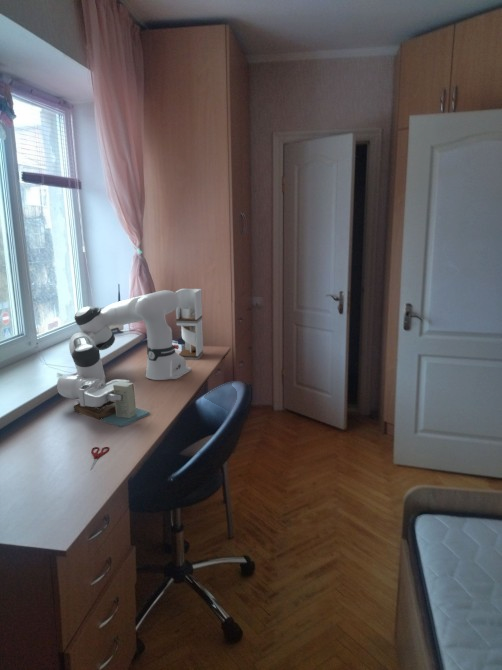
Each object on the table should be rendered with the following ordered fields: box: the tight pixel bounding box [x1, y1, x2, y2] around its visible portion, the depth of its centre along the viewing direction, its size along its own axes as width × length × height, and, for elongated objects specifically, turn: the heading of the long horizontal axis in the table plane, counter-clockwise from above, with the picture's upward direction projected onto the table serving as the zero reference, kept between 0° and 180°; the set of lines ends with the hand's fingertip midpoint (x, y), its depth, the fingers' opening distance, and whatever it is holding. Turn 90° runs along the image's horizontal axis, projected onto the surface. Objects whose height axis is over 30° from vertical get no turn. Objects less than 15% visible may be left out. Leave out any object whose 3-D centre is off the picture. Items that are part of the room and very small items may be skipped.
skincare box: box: [113, 382, 137, 418], centre depth 177 cm, size 6×4×12 cm
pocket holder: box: [73, 400, 116, 421], centre depth 186 cm, size 14×14×2 cm
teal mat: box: [101, 407, 151, 428], centre depth 179 cm, size 14×10×1 cm
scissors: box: [90, 446, 110, 471], centre depth 149 cm, size 5×14×1 cm, turn 4°
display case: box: [174, 288, 204, 361], centre depth 252 cm, size 11×11×35 cm
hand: (126, 394), depth 176 cm, fingers closed on skincare box, 4 cm apart
